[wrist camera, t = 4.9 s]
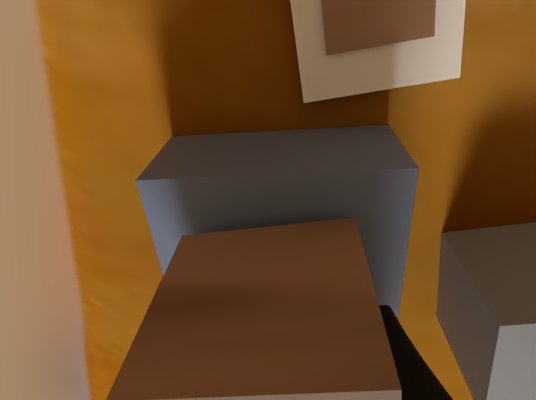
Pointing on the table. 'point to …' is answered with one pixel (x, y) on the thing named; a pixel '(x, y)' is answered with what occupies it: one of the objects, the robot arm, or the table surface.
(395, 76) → the tile
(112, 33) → the table surface
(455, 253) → the grey cube
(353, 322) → the walnut cube
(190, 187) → the base block
